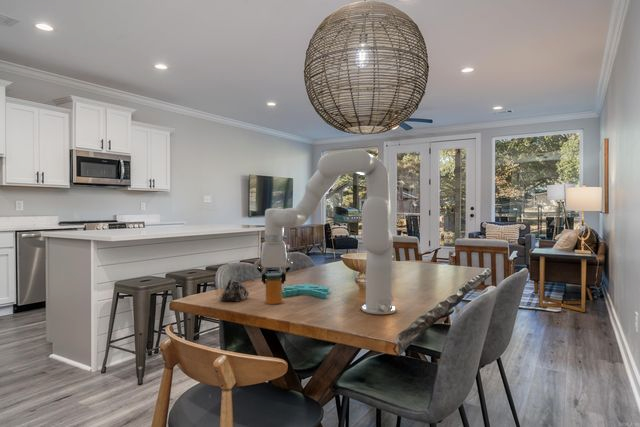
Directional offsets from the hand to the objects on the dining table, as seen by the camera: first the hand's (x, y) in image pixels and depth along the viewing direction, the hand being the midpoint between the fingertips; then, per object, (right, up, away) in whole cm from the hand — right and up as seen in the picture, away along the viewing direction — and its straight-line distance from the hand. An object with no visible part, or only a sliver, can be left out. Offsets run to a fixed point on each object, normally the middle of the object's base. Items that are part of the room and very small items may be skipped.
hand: (273, 283), depth 165 cm
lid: (0, +3, 0) cm, 3 cm away
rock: (-17, -8, +5) cm, 19 cm away
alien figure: (+12, -8, +19) cm, 24 cm away
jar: (0, -8, 0) cm, 8 cm away
